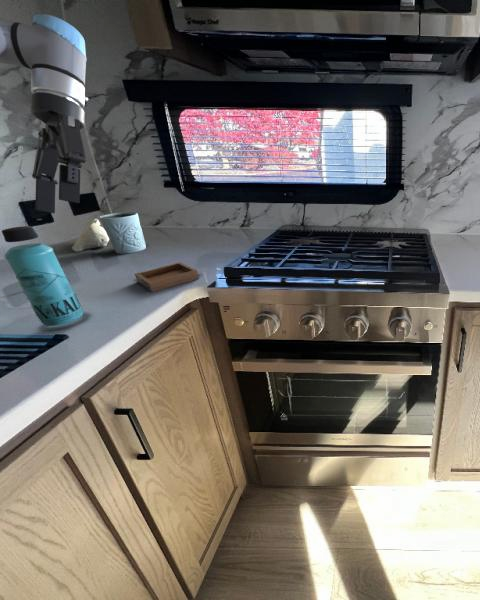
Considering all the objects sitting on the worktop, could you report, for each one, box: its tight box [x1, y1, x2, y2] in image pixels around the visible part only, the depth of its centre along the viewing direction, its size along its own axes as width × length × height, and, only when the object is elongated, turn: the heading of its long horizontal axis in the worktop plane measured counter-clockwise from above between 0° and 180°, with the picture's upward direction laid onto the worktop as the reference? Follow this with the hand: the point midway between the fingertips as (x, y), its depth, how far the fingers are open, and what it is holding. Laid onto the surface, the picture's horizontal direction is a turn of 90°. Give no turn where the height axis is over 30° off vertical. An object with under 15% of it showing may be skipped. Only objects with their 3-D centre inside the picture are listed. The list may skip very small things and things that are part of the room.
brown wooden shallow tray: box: [134, 262, 200, 293], centre depth 88 cm, size 11×11×2 cm
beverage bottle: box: [1, 225, 84, 327], centre depth 63 cm, size 6×7×20 cm
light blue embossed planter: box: [99, 211, 147, 255], centre depth 112 cm, size 10×10×12 cm
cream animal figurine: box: [71, 218, 110, 253], centre depth 118 cm, size 15×7×15 cm
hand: (56, 206), depth 66 cm, fingers open, 13 cm apart
